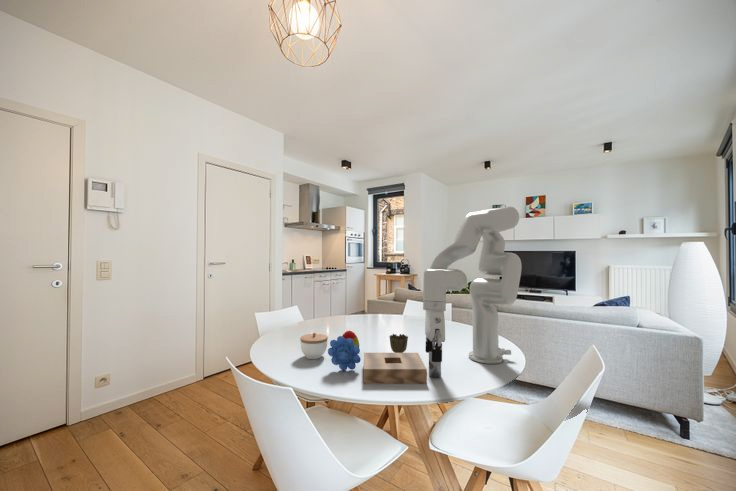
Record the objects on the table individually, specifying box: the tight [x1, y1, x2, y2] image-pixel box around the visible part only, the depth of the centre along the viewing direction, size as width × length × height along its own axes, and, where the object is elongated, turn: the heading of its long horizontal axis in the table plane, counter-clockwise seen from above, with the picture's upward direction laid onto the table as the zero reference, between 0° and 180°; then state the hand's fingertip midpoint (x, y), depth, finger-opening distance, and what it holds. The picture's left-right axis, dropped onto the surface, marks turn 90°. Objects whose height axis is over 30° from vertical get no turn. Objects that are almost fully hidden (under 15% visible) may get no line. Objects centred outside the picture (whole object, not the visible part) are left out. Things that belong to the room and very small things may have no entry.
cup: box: [389, 333, 409, 353], centre depth 121 cm, size 8×7×8 cm
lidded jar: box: [299, 332, 329, 360], centre depth 120 cm, size 11×11×9 cm
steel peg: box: [428, 350, 442, 379], centre depth 101 cm, size 4×4×8 cm
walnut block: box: [363, 352, 428, 385], centre depth 103 cm, size 20×16×4 cm
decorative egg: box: [342, 330, 360, 348], centre depth 121 cm, size 8×8×10 cm
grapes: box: [327, 335, 361, 371], centre depth 105 cm, size 12×7×12 cm, turn 90°
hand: (433, 356), depth 101 cm, fingers open, 9 cm apart
